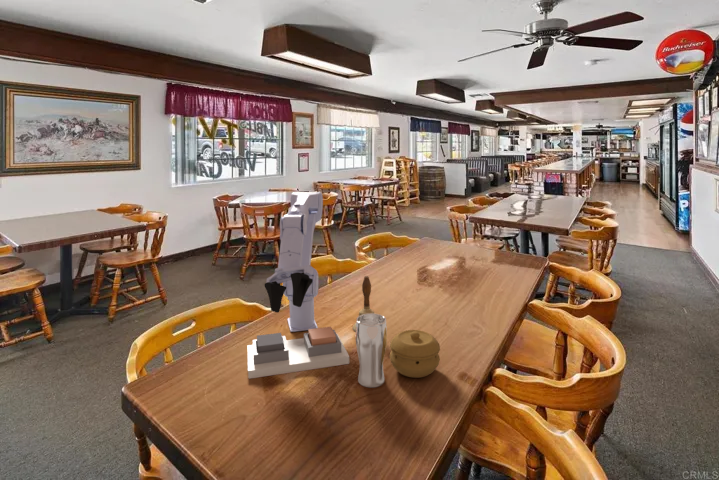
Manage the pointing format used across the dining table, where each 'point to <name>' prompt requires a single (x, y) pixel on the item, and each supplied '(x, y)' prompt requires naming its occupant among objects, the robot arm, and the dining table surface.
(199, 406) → the dining table surface
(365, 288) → the hand bell
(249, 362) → the button panel
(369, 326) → the beer glass
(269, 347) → the charcoal key
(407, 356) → the pot
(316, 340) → the terracotta key
